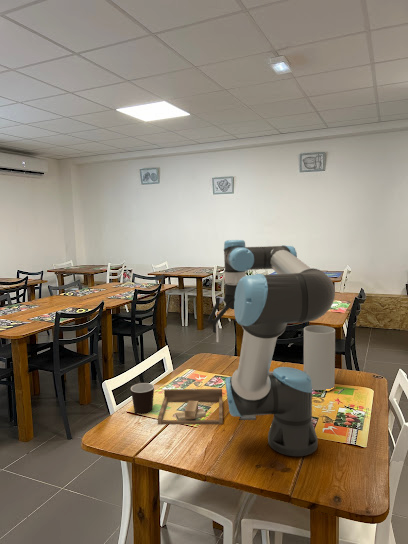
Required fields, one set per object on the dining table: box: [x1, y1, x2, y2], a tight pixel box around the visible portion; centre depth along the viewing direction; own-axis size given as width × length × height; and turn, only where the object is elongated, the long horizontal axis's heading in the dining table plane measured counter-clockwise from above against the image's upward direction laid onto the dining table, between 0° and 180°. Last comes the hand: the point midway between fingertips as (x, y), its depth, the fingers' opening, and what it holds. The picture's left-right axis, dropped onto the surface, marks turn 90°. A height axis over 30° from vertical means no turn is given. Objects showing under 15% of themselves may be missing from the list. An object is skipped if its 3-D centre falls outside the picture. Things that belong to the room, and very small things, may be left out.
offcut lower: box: [175, 408, 207, 420], centre depth 141 cm, size 4×10×3 cm, turn 111°
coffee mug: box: [130, 382, 155, 416], centre depth 148 cm, size 12×9×10 cm
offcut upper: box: [184, 401, 199, 420], centre depth 141 cm, size 4×8×3 cm, turn 173°
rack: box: [157, 388, 224, 425], centre depth 145 cm, size 18×22×6 cm
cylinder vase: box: [303, 324, 336, 390], centre depth 165 cm, size 12×12×25 cm
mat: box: [238, 415, 257, 421], centre depth 146 cm, size 12×12×1 cm
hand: (236, 341), depth 143 cm, fingers open, 13 cm apart
